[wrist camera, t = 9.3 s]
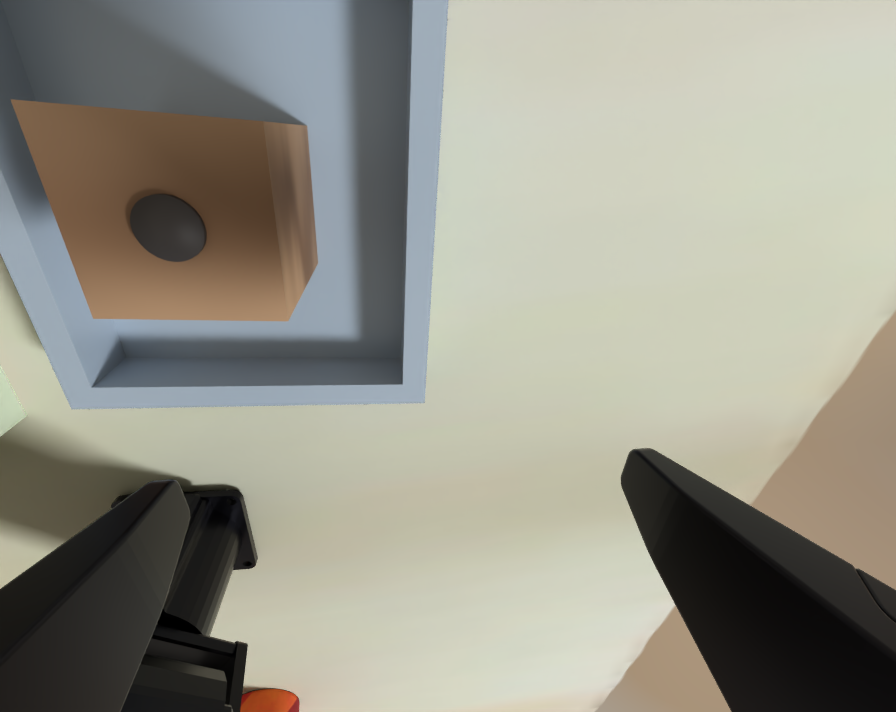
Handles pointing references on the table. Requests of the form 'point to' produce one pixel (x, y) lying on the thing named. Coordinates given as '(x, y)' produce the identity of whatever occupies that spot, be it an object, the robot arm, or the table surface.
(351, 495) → the table surface
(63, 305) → the tray
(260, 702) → the paper cup
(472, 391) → the table surface
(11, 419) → the sage block
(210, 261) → the walnut block
